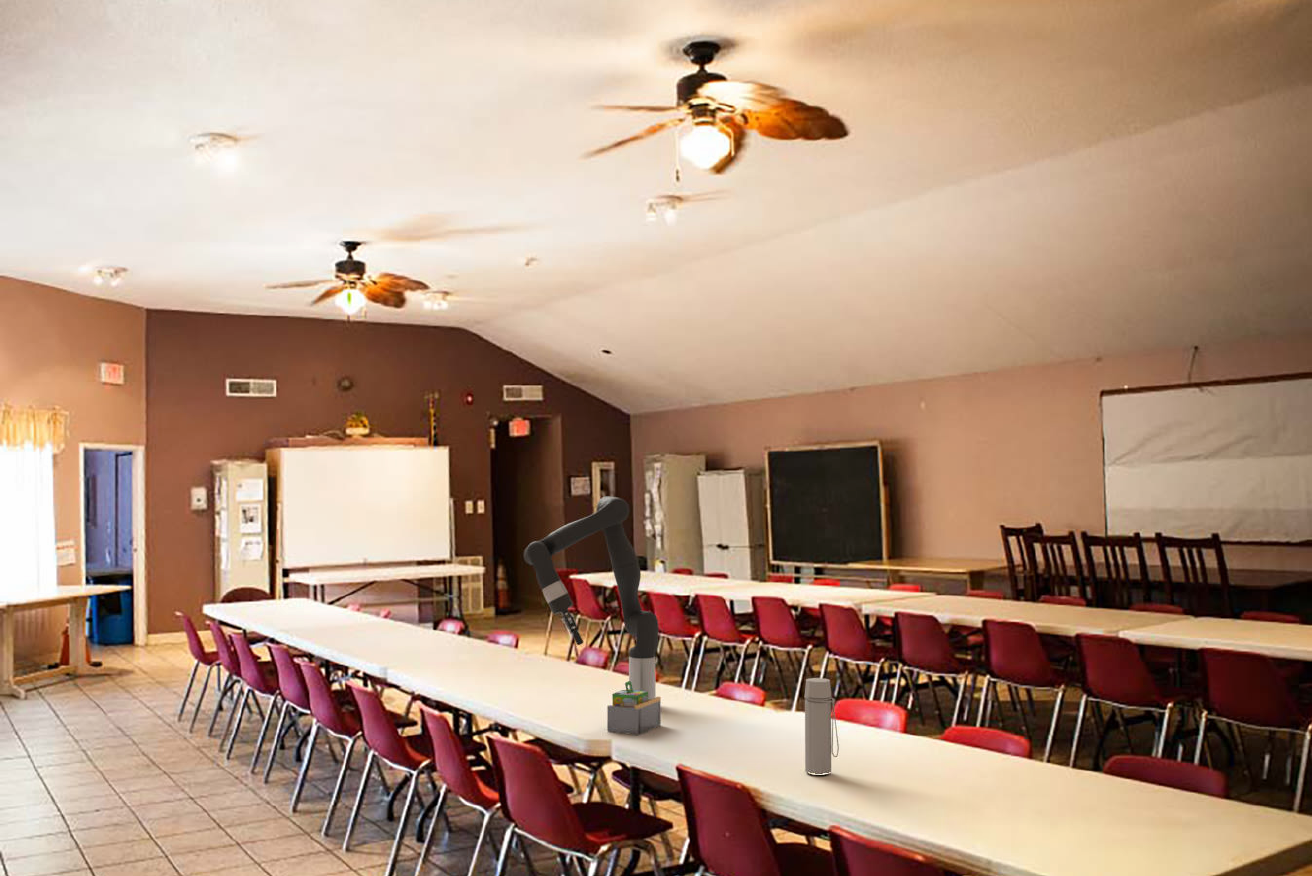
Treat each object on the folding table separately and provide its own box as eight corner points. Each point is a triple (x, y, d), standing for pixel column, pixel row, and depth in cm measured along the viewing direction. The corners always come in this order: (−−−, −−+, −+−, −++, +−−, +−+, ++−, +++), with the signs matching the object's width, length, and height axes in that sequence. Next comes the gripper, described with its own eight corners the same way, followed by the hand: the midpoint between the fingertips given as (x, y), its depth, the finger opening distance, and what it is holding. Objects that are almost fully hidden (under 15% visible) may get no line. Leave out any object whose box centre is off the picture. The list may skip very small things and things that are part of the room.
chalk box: (638, 733, 359) (638, 685, 359) (611, 730, 362) (611, 683, 363) (649, 727, 367) (649, 680, 368) (623, 724, 371) (623, 678, 371)
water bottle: (801, 776, 306) (801, 681, 307) (808, 769, 313) (807, 677, 314) (835, 779, 302) (835, 683, 303) (841, 772, 310) (841, 679, 311)
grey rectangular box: (630, 722, 374) (630, 694, 375) (660, 725, 369) (660, 696, 370) (606, 732, 360) (606, 702, 360) (637, 735, 355) (637, 705, 355)
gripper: (568, 590, 376) (592, 638, 374) (566, 593, 389) (589, 640, 386) (547, 600, 375) (571, 648, 372) (546, 604, 387) (569, 650, 385)
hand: (580, 644), depth 379 cm, fingers closed
